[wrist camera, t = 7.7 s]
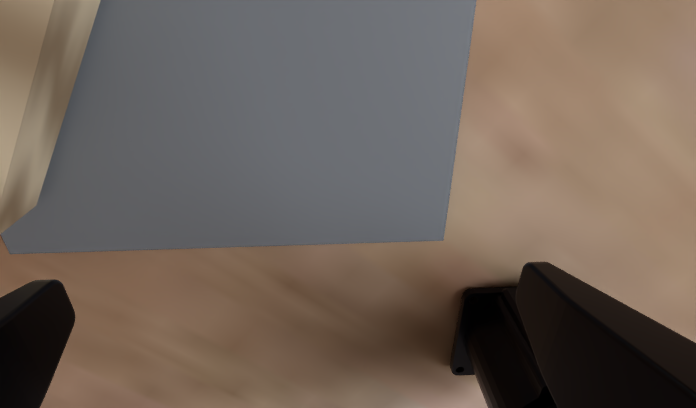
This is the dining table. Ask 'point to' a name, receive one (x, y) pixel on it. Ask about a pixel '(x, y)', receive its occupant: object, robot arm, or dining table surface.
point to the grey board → (256, 126)
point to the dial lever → (35, 91)
